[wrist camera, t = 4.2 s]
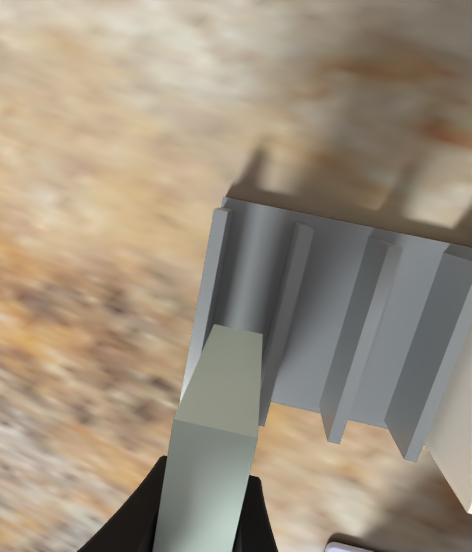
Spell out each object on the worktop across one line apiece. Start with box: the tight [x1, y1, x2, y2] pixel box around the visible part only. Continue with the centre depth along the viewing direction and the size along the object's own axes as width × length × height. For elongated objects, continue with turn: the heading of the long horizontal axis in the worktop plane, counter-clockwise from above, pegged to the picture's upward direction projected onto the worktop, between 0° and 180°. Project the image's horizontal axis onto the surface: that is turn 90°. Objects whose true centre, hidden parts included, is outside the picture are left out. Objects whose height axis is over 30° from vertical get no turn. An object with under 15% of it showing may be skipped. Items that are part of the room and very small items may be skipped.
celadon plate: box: [153, 324, 263, 552], centre depth 12 cm, size 9×2×6 cm, turn 170°
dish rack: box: [179, 197, 472, 462], centre depth 17 cm, size 11×16×4 cm
